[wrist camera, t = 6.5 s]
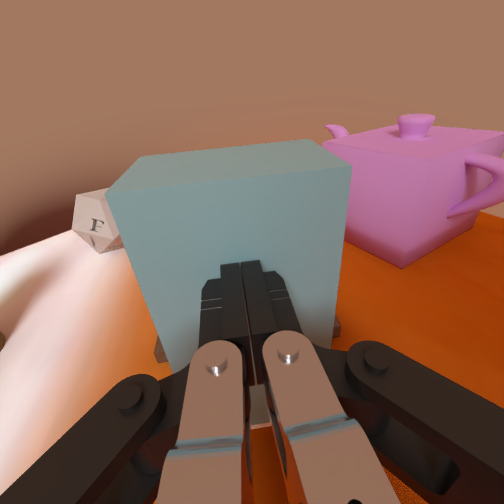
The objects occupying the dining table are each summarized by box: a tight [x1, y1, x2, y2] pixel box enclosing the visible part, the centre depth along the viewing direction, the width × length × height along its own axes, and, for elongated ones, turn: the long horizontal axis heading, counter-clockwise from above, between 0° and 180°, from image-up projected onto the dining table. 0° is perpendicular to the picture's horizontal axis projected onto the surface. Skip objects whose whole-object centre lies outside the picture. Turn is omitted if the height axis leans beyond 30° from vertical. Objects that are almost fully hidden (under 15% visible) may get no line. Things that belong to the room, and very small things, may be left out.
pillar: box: [104, 139, 353, 429], centre depth 15 cm, size 8×5×16 cm, turn 97°
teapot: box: [322, 114, 504, 269], centre depth 35 cm, size 15×25×14 cm, turn 32°
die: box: [72, 188, 124, 254], centre depth 38 cm, size 8×9×10 cm
